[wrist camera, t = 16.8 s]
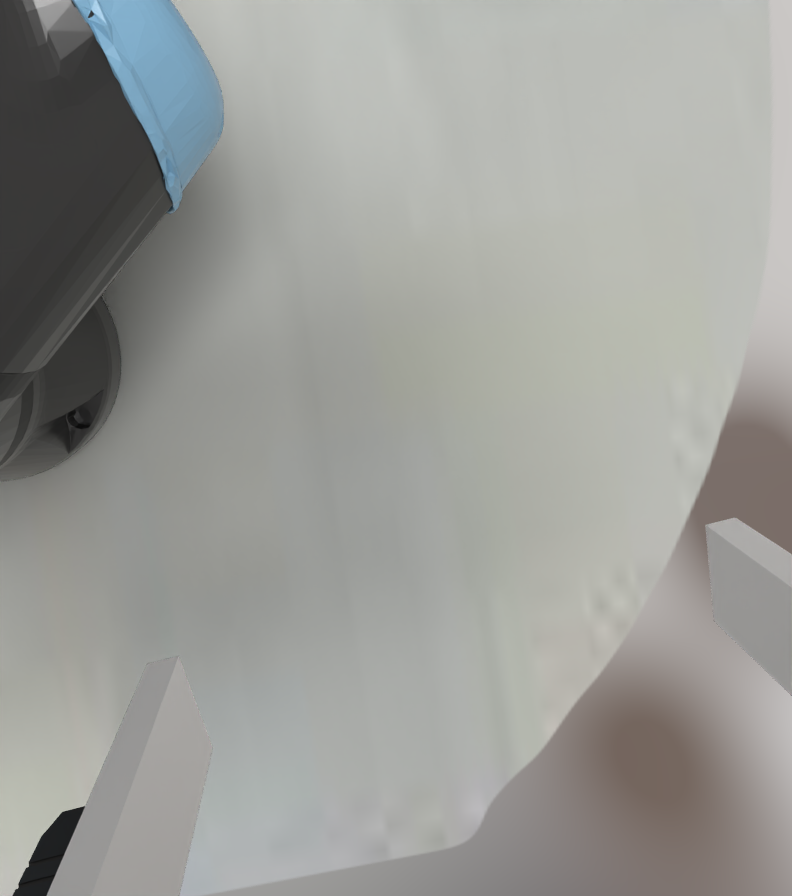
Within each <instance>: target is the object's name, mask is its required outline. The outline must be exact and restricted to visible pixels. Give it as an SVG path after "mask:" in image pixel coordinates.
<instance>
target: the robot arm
mask: <svg viewBox="0 0 792 896" xmlns="http://www.w3.org/2000/svg"><path fill="white" fill-rule="evenodd" d="M223 110H224V104H223V97H222V90H221V88H220V85H219V82H218V79H217V77H216V75H215V72H214V70H213V68H212V66H211V64H210V62H209V60H208V58H207V56H206V55H205V53H204V51H203V50H202V48H201V46H200V44H199V43H198V41H197V39H196V38H195V36H194V35H193V33H192V31H191V30H190V28H189V27H188V25H187V24H186V22H185V21H184V19H183V18H182V16H181V15H180V13H179V12H178V10H177V9H176V7H175V6H174V4H173V3H172V1H171V0H0V482H4V481H12V480H17V479H22V478H26V477H29V476H33V475H35V474H38V473H41V472H43V471H46V470H48V469H50V468H52V467H54V466H56V465H58V464H60V463H61V462H63V461H64V460H66V459H67V458H69V457H70V456H71V455H72V454H74V453H75V452H76V451H78V450H79V449H80V448H81V447H83V446H84V445H85V444H86V443H87V442H88V441H89V440H90V439H91V438H92V437H93V436H94V435H95V434H96V433H97V432H98V430H99V429H100V428H101V427H102V425H103V424H104V422H105V421H106V419H107V417H108V415H109V413H110V411H111V409H112V407H113V405H114V402H115V399H116V396H117V392H118V388H119V382H120V374H121V356H120V347H119V341H118V337H117V333H116V329H115V326H114V323H113V321H112V318H111V315H110V313H109V311H108V309H107V307H106V305H105V303H104V301H103V300H102V298H101V294H102V293H103V292H104V291H105V289H106V288H107V287H108V286H109V284H110V283H111V282H112V280H113V279H114V278H115V277H116V275H117V274H118V273H119V272H120V270H121V269H122V268H123V267H124V265H125V264H126V263H127V262H128V260H129V259H130V258H131V256H132V255H133V254H134V253H135V251H136V250H137V249H138V248H139V246H140V245H141V244H142V243H143V241H144V240H145V239H146V238H147V236H148V235H149V234H150V233H151V231H152V230H153V229H154V227H155V226H156V225H157V224H158V222H159V221H160V220H161V219H162V217H163V216H164V215H165V214H166V213H168V214H171V213H174V212H175V211H176V209H177V208H178V207H179V204H180V201H181V199H182V191H183V190H184V189H185V187H186V186H187V184H188V183H189V182H190V180H191V179H192V177H193V176H194V175H195V173H196V172H197V171H198V169H199V168H200V166H201V165H202V164H203V162H204V161H205V159H206V158H207V157H208V155H209V154H210V152H211V151H212V150H213V148H214V147H215V145H216V144H217V142H218V140H219V138H220V135H221V133H222V129H223V119H224V112H223ZM706 537H707V548H708V560H709V572H710V583H711V595H712V606H713V617H714V622H715V623H716V624H717V625H718V626H719V627H720V628H721V629H723V630H724V631H725V632H726V633H727V634H728V635H729V636H730V637H731V638H732V639H733V640H734V641H735V642H736V643H737V644H738V645H739V646H740V647H741V648H742V649H743V650H744V651H746V652H747V653H748V654H749V655H750V656H751V657H752V658H753V659H754V660H755V661H756V662H757V663H758V664H759V665H760V666H761V667H762V668H763V669H764V670H765V671H766V672H767V673H769V674H770V675H771V676H772V677H773V678H774V679H775V680H776V681H777V682H778V683H779V684H780V685H781V686H782V687H783V688H784V689H785V690H786V691H787V692H788V693H789V694H790V695H791V696H792V554H790V553H789V552H787V551H786V550H784V549H783V548H781V547H780V546H778V545H777V544H775V543H773V542H772V541H770V540H769V539H767V538H766V537H764V536H763V535H761V534H760V533H758V532H757V531H755V530H754V529H752V528H751V527H749V526H748V525H746V524H744V523H743V522H741V521H740V520H738V519H737V518H732V519H728V520H724V521H720V522H716V523H712V524H708V525H706ZM212 750H213V747H212V744H211V741H210V739H209V736H208V733H207V731H206V728H205V725H204V722H203V720H202V717H201V714H200V712H199V709H198V706H197V704H196V701H195V698H194V695H193V693H192V690H191V687H190V685H189V682H188V679H187V677H186V674H185V671H184V668H183V666H182V663H181V660H180V658H179V656H176V657H172V658H168V659H164V660H160V661H156V662H152V663H148V664H147V665H146V668H145V670H144V672H143V674H142V677H141V679H140V681H139V684H138V686H137V688H136V691H135V693H134V695H133V698H132V700H131V702H130V704H129V707H128V709H127V711H126V714H125V716H124V718H123V721H122V723H121V725H120V727H119V730H118V732H117V734H116V737H115V739H114V741H113V744H112V746H111V748H110V751H109V753H108V755H107V757H106V760H105V762H104V764H103V767H102V769H101V771H100V774H99V776H98V778H97V780H96V783H95V785H94V787H93V790H92V792H91V794H90V797H89V799H88V801H87V804H86V806H84V807H80V808H76V809H72V810H68V811H64V812H62V813H61V814H60V816H59V817H58V818H57V819H56V820H55V821H54V823H53V824H52V825H51V826H50V827H49V828H48V830H47V831H46V832H45V833H44V834H43V835H42V837H41V838H40V841H39V843H38V845H37V847H36V849H35V851H34V853H33V855H32V857H31V859H30V861H29V867H27V868H26V869H25V871H24V873H23V875H22V878H21V880H20V882H19V888H18V889H16V890H15V892H14V894H13V896H179V895H180V890H181V886H182V881H183V877H184V873H185V868H186V864H187V860H188V855H189V851H190V846H191V842H192V838H193V833H194V829H195V825H196V820H197V816H198V811H199V807H200V803H201V798H202V794H203V789H204V785H205V781H206V776H207V772H208V768H209V763H210V759H211V754H212Z"/></svg>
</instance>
